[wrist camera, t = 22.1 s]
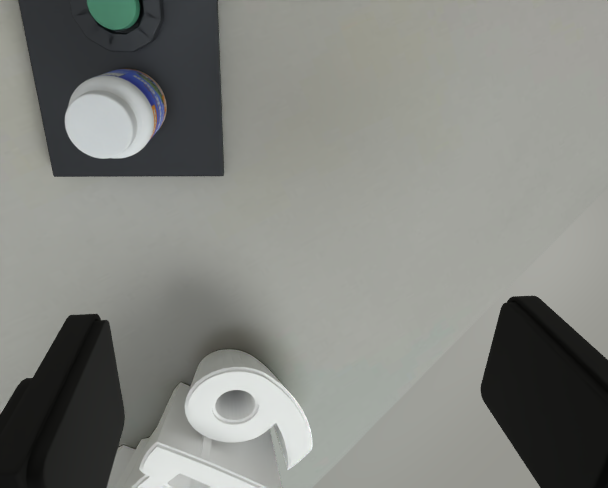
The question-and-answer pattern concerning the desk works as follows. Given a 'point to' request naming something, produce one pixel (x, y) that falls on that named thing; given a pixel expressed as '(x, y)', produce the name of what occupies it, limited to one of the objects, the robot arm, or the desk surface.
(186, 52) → the dark grey flat slab
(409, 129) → the desk surface
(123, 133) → the pill bottle
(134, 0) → the button
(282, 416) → the white letter sign
